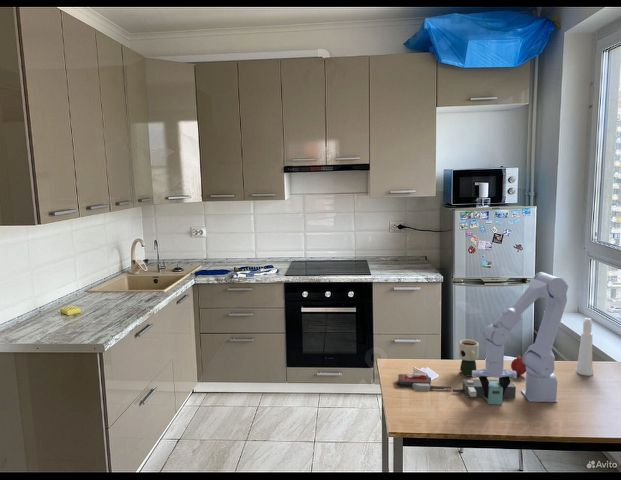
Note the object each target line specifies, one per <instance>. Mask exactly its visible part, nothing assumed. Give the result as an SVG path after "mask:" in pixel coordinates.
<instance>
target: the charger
mask: <svg viewBox="0 0 621 480" xmlns="http://www.w3.org/2000/svg"><path fill="white" fill-rule="evenodd" d="M484 398H485V397H484ZM503 399H504V397H503V387H502V386H501V385H500V383H499V382H498V381H489V385H488V398H485V401H486V402H487V404H488V405H503Z"/></svg>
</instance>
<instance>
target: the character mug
mask: <svg viewBox="0 0 621 480" xmlns="http://www.w3.org/2000/svg"><path fill="white" fill-rule="evenodd" d="M479 346H480V344H479V342H478V341H476V340H474V339H461V340H460V341H459V354H458V356H459V358H460V359H461V361H460V369H459V372H460V374H461V375H463V376H466V377H470V376H471V377H472V370H478V369H477V364H476V363H477V362H476V361H477V360H479V351H480V350H479Z"/></svg>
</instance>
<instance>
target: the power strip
mask: <svg viewBox="0 0 621 480" xmlns="http://www.w3.org/2000/svg"><path fill="white" fill-rule="evenodd" d="M488 381H498V382H499V379H488ZM461 387H462V388H453V389H452V392H453V393H464V395H465V397H466V398H471V397H470V395H469V393H468V387H474V388H475V390H476V397H475V398H485V396H484V392H483V387H482V384H481V382H480V379H467V378H466V379H462V385H461ZM516 388H517V387H516V385H515V384H514V382H513V381H512V380H511V382H510V384H509V385H508V387H507V388H506V390H505V393H504V396H503V398H516V395H517V394H516V390H517V389H516Z"/></svg>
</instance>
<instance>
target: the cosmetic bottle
mask: <svg viewBox="0 0 621 480" xmlns="http://www.w3.org/2000/svg"><path fill="white" fill-rule="evenodd" d="M592 324H593V321H592V318H591V317H584V319H583V324H582V325H583V326H582V332H581V335H580V340H579V341H580V342H579V352H578V357H577V364H576V367H575V372H576V373H577V374H579V375H582V376H585V377H586V376H587V377H588V376H590V377H591V376H593V375H594V368H593V333H592V330H593V329H592V326H593V325H592Z"/></svg>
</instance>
